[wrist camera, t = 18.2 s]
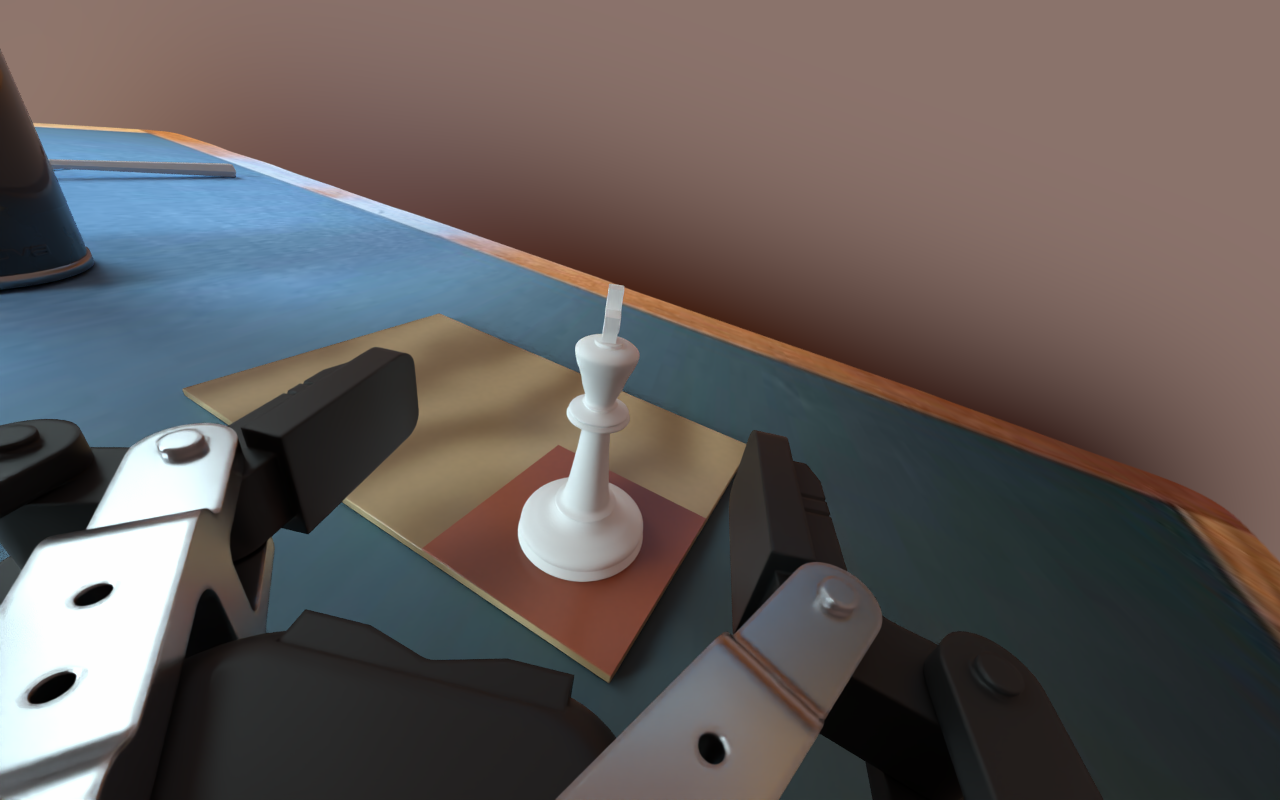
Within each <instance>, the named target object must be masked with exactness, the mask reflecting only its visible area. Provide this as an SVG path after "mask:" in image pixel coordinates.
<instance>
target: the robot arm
mask: <svg viewBox="0 0 1280 800" xmlns="http://www.w3.org/2000/svg"><path fill="white" fill-rule="evenodd" d="M93 264H94V259H93V257H92V254H91V252H90V250H89V249H88V248H87V247H86V246H85V244H84V241H83V239H82V237H81V234H80V232H79V230H78V227H77V225H76V223H75V221H74V218H73V216H72V214H71V211H70V209H69V207H68V204H67V201H66V199H65V196H64V194H63V192H62V190H61V187H60V185H59V183H58V180H57V178H56V176H55V174H54V171H53V169H52V167H51V164H50V162H49V160H48V157H47V155H46V153H45V151H44V148H43V146H42V144H41V141H40V139H39V137H38V134H37V132H36V130H35V128H34V125H33V123H32V121H31V118H30V116H29V114H28V111H27V109H26V107H25V105H24V102H23V100H22V98H21V95H20V93H19V91H18V88H17V86H16V84H15V82H14V79H13V77H12V75H11V72H10V70H9V68H8V66H7V63H6V61H5V59H4V56H3V54H2V52H1V49H0V289H9V288H18V287H24V286H31V285H38V284H42V283H47V282H52V281H57V280H61V279H64V278H68V277H71V276H74V275H77V274H79V273H82V272H84V271H86V270H88V269H89V268H91V267H92V266H93ZM418 416H419V406H418V395H417V385H416V374H415V364H414V360H413V358H412V356H411V355H410V354H408V353H403V352H399V351H394V350H390V349H385V348H380V347H373V348H370V349H369V350H367V351H365V352H364V353H362V354H360V355H359V356H357V357H356V358H354V359H352V360H351V361H349V362H346V363H343V364H340V365H337V366H334V367H330V368H327V369H324V370H322V371H320V372H318V373H317V374H315V375H313V376H312V377H310V378H308V379H307V380H305V381H304V383H303V384H298V385H296V386H295V387H293V388H291V389H289V390H288V392H287V394H286V393H283V394H281V395H279V396H278V397H276V398H274V399H272V400H271V401H269V402H267V403H266V404H264V405H262V406H261V407H259V408H257V409H255V410H254V411H252V412H250V413H249V414H247V415H245V416H244V417H242V418H240V419H238V420H237V421H235V422H233V423H232V424H230V425H228V426H225V425H221V424H214V423H197V424H188V425H182V426H177V427H173V428H169V429H165V430H162V431H160V432H157V433H154V434H152V435H150V436H147V437H146V438H144V439H142V440H140V441H139V442H137V443H136V444H134V445H133V446H132V447H131V448H121V447H89V445H88V443H87V441H86V439H85V437H84V436H83V434H82V432H81V430H80V428H79V427H78V426H77V425H76V424H74V423H72V422H69V421H65V420H58V419H37V420H27V421H21V422H14V423H10V424H5V425H1V426H0V543H1V544H2V546H3V547H4V548H5V550H6V551H7V552H8V554H9V555H10V557H8V558H6V559H5V560H3V561H2V562H0V800H779V798H780V796H781V795H782V793H783V791H784V790H785V788H786V787H787V785H788V783H789V782H790V780H791V778H792V777H793V775H794V774H795V772H796V770H797V769H798V767H799V765H800V764H801V762H802V760H803V759H804V757H805V756H806V754H807V752H808V751H809V749H810V747H811V746H812V744H813V742H814V741H815V739H816V738H817V736H818V734H819V733H820V734H821V735H823V736H825V737H826V738H828V739H830V740H831V741H833V742H835V743H836V744H838V745H840V746H841V747H843V748H845V749H846V750H848V751H849V752H851V753H853V754H854V755H856V756H858V757H859V758H861V759H863V760H864V761H866V767H867V772H868V777H869V783H870V788H871V793H872V798H873V800H1103V798H1102V796H1101V794H1100V792H1099V791H1098V789H1097V787H1096V785H1095V783H1094V781H1093V779H1092V778H1091V776H1090V774H1089V772H1088V770H1087V768H1086V767H1085V765H1084V763H1083V761H1082V759H1081V757H1080V755H1079V754H1078V752H1077V750H1076V748H1075V746H1074V744H1073V742H1072V741H1071V739H1070V737H1069V735H1068V733H1067V731H1066V730H1065V728H1064V726H1063V724H1062V722H1061V720H1060V718H1059V717H1058V715H1057V713H1056V711H1055V709H1054V707H1053V706H1052V704H1051V702H1050V700H1049V698H1048V696H1047V694H1046V693H1045V691H1044V689H1043V688H1042V686H1041V684H1040V683H1039V682H1038V680H1037V679H1036V678H1035V676H1034V675H1033V674H1032V673H1031V672H1030V671H1029V670H1028V668H1027V667H1026V666H1025V665H1024V664H1022V663H1021V662H1020V661H1019V660H1018V659H1017V658H1016V657H1015V656H1013V655H1012V654H1011V653H1010V652H1008V651H1007V650H1006V649H1004V648H1003V647H1001V646H1000V645H998V644H996V643H994V642H993V641H991V640H989V639H987V638H985V637H982V636H980V635H977V634H974V633H969V632H961V631H958V632H952V633H950V634H948V635H947V636H946V637H944V638H943V640H942V641H941V642H940V643H939V644H938V645H937V644H935V643H933V642H931V641H929V640H927V639H925V638H923V637H921V636H919V635H917V634H915V633H913V632H911V631H909V630H907V629H905V628H903V627H901V626H899V625H897V624H895V623H893V622H891V621H890V620H888V619H886V618H885V617H884V616H882V613H881V610H880V606H879V604H878V602H877V600H876V599H875V597H874V596H873V594H872V593H871V592H870V590H869V589H868V588H867V587H866V586H865V585H864V584H863V583H862V582H861V581H860V580H859V579H857V578H856V577H855V576H853V575H852V574H850V573H849V572H847V569H846V565H845V562H844V559H843V555H842V552H841V549H840V545H839V542H838V539H837V536H836V532H835V529H834V526H833V522H832V519H831V517H829V515H830V512H829V509H828V506H827V502H825V496H824V492H823V489H822V486H821V482H820V480H819V479H818V478H817V477H816V475H815V474H814V473H813V472H812V471H811V469H810V468H809V467H808V466H807V464H804V463H799V462H795V461H793V459H792V455H791V450H790V446H789V442H788V439H787V437H784V436H779V435H775V434H770V433H765V432H761V431H756V430H753V431H752V432H751V434H750V436H749V439H748V442H747V444H746V447H745V450H744V453H743V456H742V459H741V462H740V464H739V467H738V470H737V473H736V476H735V479H734V482H733V485H732V489H731V494H730V500H729V529H730V559H731V590H732V620H733V635H731V634H730V633H729V632H724V633H723V634H721V635H720V636H719V637H717V638H716V639H715V640H714V641H713V642H712V643H711V644H710V645H709V646H708V647H707V648H706V649H705V650H704V651H703V652H702V653H701V654H700V655H699V656H698V657H697V658H696V659H695V660H694V661H693V662H692V663H691V664H690V665H689V666H688V667H687V668H686V669H685V670H684V671H683V672H682V673H681V674H680V675H679V676H678V677H677V678H676V679H675V680H674V681H673V682H672V683H671V684H670V685H669V686H668V687H667V688H666V689H665V690H664V691H663V692H662V693H661V694H660V695H659V696H658V697H657V698H656V699H655V700H654V701H653V702H652V703H651V704H650V705H649V706H648V707H647V708H646V709H645V710H644V711H643V712H642V713H641V714H640V715H639V716H638V717H637V718H636V719H635V720H634V721H633V722H632V723H631V724H630V725H629V726H628V727H627V728H626V729H625V730H624V731H623V732H622V733H621V734H620V735H619V736H618V737H617V738H616V737H615V736H614V734H613V733H612V732H611V730H610V729H609V728H608V727H607V726H606V725H605V724H604V723H603V722H602V721H601V720H600V719H599V718H598V717H597V716H596V715H595V714H594V713H593V712H591V711H590V710H589V709H588V708H586V707H585V706H584V705H582V704H581V703H579V702H577V701H576V700H574V699H572V698H571V692H572V686H573V680H574V675H572V674H568V673H564V672H560V671H555V670H551V669H547V668H543V667H539V666H535V665H531V664H527V663H523V662H519V661H515V660H511V659H467V660H430V659H426V658H424V657H422V656H420V655H418V654H417V653H415V652H413V651H412V650H410V649H409V648H407V647H405V646H404V645H402V644H400V643H399V642H397V641H395V640H394V639H392V638H391V637H389V636H387V635H386V634H384V633H382V632H381V631H379V630H377V629H376V628H374V627H372V626H371V625H368V624H363V623H359V622H355V621H351V620H347V619H343V618H339V617H335V616H331V615H327V614H323V613H318V612H314V611H310V610H306V609H305V611H304V612H303V613H302V614H301V615H300V616H299V617H298V619H297V620H296V621H295V622H294V623H293V624H292V625H291V627H290V628H289V629H288V630H287V631H281V632H273V633H266V622H267V613H268V604H269V595H270V586H271V577H272V568H273V559H274V550H275V547H274V542H273V539H272V536H273V535H274V534H275V533H276V532H277V531H278V530H279V529H281V528H284V529H288V530H292V531H297V532H301V533H305V534H309V533H310V532H311V531H312V530H313V529H314V528H315V527H316V526H317V525H318V524H319V523H320V522H321V521H323V520H324V519H325V518H326V517H327V516H328V515H329V514H330V513H331V512H332V511H333V510H334V509H335V508H336V507H337V506H338V505H339V504H340V503H341V502H342V501H343V500H344V499H345V498H346V497H347V496H348V495H349V494H350V493H351V492H352V491H353V490H355V489H356V488H357V487H358V486H359V485H360V484H361V483H362V482H363V481H364V480H365V479H366V478H367V477H368V476H369V475H370V474H371V473H372V472H373V471H374V470H375V469H376V468H377V467H378V466H379V465H380V464H381V463H382V462H383V461H384V460H385V459H386V458H388V457H389V456H390V455H391V454H392V453H393V452H394V451H395V450H396V449H397V448H398V447H399V446H400V445H401V444H402V443H403V442H404V441H405V440H406V439H407V438H408V437H409V436H410V435H411V434H412V432H413V431H414V429H415V427H416V424H417V421H418Z"/></svg>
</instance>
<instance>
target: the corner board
mask: <svg viewBox="0 0 1280 800" xmlns="http://www.w3.org/2000/svg"><path fill="white" fill-rule="evenodd" d="M373 347H380V348H385V349H390V350H394V351H399V352H403V353H408V354H410V355H411V356H412V358H413V360H414V364H415V374H416V385H417V395H418V406H419V416H418V421H417V424H416V427H415V429H414V431H413V432H412V434H411V435H410V436H409V437H408V438H407V439H406V440H405V441H404V442H403V443H402V444H401V445H400V446H399V447H398V448H397V449H396V450H395V451H394V452H393V453H392V454H391V455H390V456H389V457H388V458H386V459H385V460H384V461H383V462H382V463H381V464H380V465H379V466H378V467H377V468H376V469H375V470H374V471H373V472H372V473H371V474H370V475H369V476H368V477H367V478H366V479H365V480H364V481H363V482H362V483H361V484H360V485H359V486H358V487H357V488H356V489H355V490H353V491H352V492H351V493H350V494H349V495H348V496H347V497H346V498H345V499H344V500H343V501H342V502H343V503H344V504H346V505H347V506H349V507H350V508H351V509H353V510H354V511H356V512H357V513H359V514H360V515H362V516H363V517H365V518H366V519H368V520H369V521H371V522H372V523H374V524H375V525H377V526H378V527H379V528H381V529H382V530H384V531H385V532H387V533H388V534H390V535H391V536H393V537H394V538H396V539H397V540H399V541H400V542H402V543H403V544H404V545H406V546H407V547H409V548H410V549H412V550H413V551H415V552H416V553H418V554H419V555H421V556H422V557H424V558H425V559H427V560H428V561H430V562H431V563H432V564H434V565H435V566H437V567H438V568H440V569H441V570H443V571H444V572H446V573H447V574H449V575H450V576H452V577H453V578H455V579H456V580H457V581H459V582H460V583H462V584H463V585H465V586H466V587H468V588H469V589H471V590H472V591H474V592H475V593H477V594H478V595H480V596H481V597H483V598H484V599H485V600H487V601H488V602H490V603H491V604H493V605H494V606H496V607H497V608H499V609H500V610H502V611H503V612H505V613H506V614H508V615H509V616H511V617H512V618H513V619H515V620H516V621H518V622H519V623H521V624H522V625H524V626H525V627H527V628H528V629H530V630H531V631H533V632H534V633H536V634H537V635H538V636H540V637H541V638H543V639H544V640H546V641H547V642H549V643H550V644H552V645H553V646H555V647H556V648H558V649H559V650H561V651H562V652H564V653H565V654H566V655H568V656H569V657H571V658H572V659H574V660H575V661H577V662H578V663H580V664H581V665H583V666H584V667H586V668H587V669H589V670H590V671H592V672H593V673H594V674H596V675H597V676H599V677H600V678H602V679H603V680H605V681H606V682H608V683H610V682H611V680H612V678H613V677H614V675H615V673H616V672H617V670H618V668H619V667H620V665H621V663H622V662H623V660H624V658H625V657H626V655H627V653H628V652H629V650H630V648H631V647H632V645H633V643H634V642H635V640H636V638H637V637H638V635H639V633H640V632H641V630H642V628H643V627H644V625H645V623H646V622H647V620H648V618H649V617H650V615H651V613H652V612H653V610H654V608H655V607H656V605H657V603H658V602H659V600H660V598H661V597H662V595H663V593H664V592H665V590H666V588H667V587H668V585H669V583H670V582H671V580H672V578H673V577H674V575H675V573H676V572H677V570H678V568H679V567H680V565H681V563H682V562H683V560H684V558H685V557H686V555H687V553H688V552H689V550H690V548H691V547H692V545H693V543H694V542H695V540H696V538H697V537H698V535H699V533H700V532H701V530H702V528H703V527H704V525H705V523H706V522H707V520H708V518H709V517H710V515H711V513H712V512H713V510H714V508H715V507H716V505H717V503H718V502H719V500H720V498H721V497H722V495H723V493H724V492H725V490H726V488H727V487H728V485H729V483H730V482H731V480H732V478H733V477H734V475H735V473H736V472H737V470H738V467H739V464H740V462H741V459H742V456H743V453H744V450H745V447H746V444H744V443H742V442H740V441H737V440H735V439H733V438H730V437H728V436H726V435H723V434H721V433H719V432H716V431H714V430H711V429H709V428H707V427H704V426H702V425H700V424H697V423H695V422H693V421H690V420H688V419H686V418H683V417H681V416H679V415H676V414H674V413H672V412H669V411H667V410H665V409H662V408H660V407H657V406H655V405H653V404H650V403H648V402H646V401H643V400H641V399H639V398H636V397H634V396H632V395H629V394H627V393H625V392H622V391H621V393H620V394H619V396H618V398H617V399H619V400H620V401H622V402H623V403H624V404H625V405H626V406H627V408H628V410H629V416H630V421H629V423H628V425H627V426H626V427H625V428H624V429H622V430H620V431H618V432H615V433H610V445H609V483H611V484H613V485H615V486H617V487H619V488H620V489H622V490H623V491H625V492H626V493H627V494H628V495H629V496H630V497H631V498H632V499H633V500H634V501H635V503H636V504H637V506H638V508H639V510H640V512H641V515H642V519H643V541H642V546H641V549H640V551H639V553H638V555H637V557H636V558H635V560H634V561H633V562H632V563H631V564H630V565H629V566H628V567H627V568H625V569H624V570H623V571H621V572H619V573H618V574H616V575H614V576H611V577H609V578H606V579H602V580H598V581H590V582H576V581H568V580H564V579H560V578H557V577H554V576H552V575H550V574H548V573H546V572H544V571H542V570H541V569H539V568H538V567H537V566H535V565H534V564H533V563H532V562H531V561H530V560H529V559H528V558H527V556H526V555H525V553H524V552H523V550H522V548H521V546H520V543H519V538H518V525H519V521H520V518H521V513H522V509H523V507H524V505H525V503H526V501H527V500H528V498H529V497H530V496H531V495H532V494H533V493H534V492H535V491H536V490H538V489H539V488H540V487H542V486H544V485H545V484H547V483H550V482H552V481H555V480H558V479H562V478H567V477H569V475H570V472H571V468H572V465H573V461H574V458H575V454H576V450H577V447H578V443H579V438H580V434H581V430H582V429H580V428H578V427H576V426H575V425H573V424H572V423H571V422H570V420H569V419H568V417H567V408H568V406H569V404H570V402H571V401H572V400H573V399H574V398H575V397H577V396H579V395H582V394H585V391H584V388H583V384H582V377H581V374H580V373H578V372H575V371H573V370H571V369H568V368H566V367H564V366H561V365H559V364H557V363H554V362H552V361H550V360H547V359H545V358H543V357H540V356H538V355H535V354H533V353H531V352H528V351H526V350H524V349H521V348H519V347H517V346H514V345H512V344H510V343H507V342H505V341H503V340H500V339H498V338H496V337H493V336H491V335H489V334H486V333H484V332H481V331H479V330H477V329H474V328H472V327H470V326H467V325H465V324H463V323H460V322H458V321H456V320H453V319H451V318H449V317H446V316H444V315H442V314H436V315H433V316H429V317H426V318H423V319H419V320H416V321H412V322H409V323H405V324H402V325H399V326H395V327H392V328H388V329H385V330H382V331H378V332H375V333H371V334H368V335H364V336H361V337H358V338H354V339H351V340H347V341H344V342H340V343H337V344H334V345H330V346H327V347H323V348H320V349H317V350H313V351H310V352H306V353H303V354H299V355H296V356H293V357H289V358H286V359H282V360H279V361H275V362H272V363H269V364H265V365H262V366H258V367H255V368H252V369H248V370H245V371H241V372H238V373H234V374H231V375H228V376H224V377H221V378H217V379H214V380H210V381H207V382H204V383H200V384H197V385H193V386H190V387H187V388H183V392H184V395H185V396H187V397H188V398H189V399H191V400H192V401H194V402H195V403H197V404H198V405H200V406H201V407H203V408H204V409H206V410H207V411H209V412H210V413H212V414H213V415H215V416H216V417H217V418H219V419H220V420H222V421H223V422H225V423H226V424H228V425H230V424H232V423H233V422H235V421H237V420H238V419H240V418H242V417H244V416H245V415H247V414H249V413H250V412H252V411H254V410H255V409H257V408H259V407H261V406H262V405H264V404H266V403H267V402H269V401H271V400H272V399H274V398H276V397H278V396H279V395H281V394H283V393H286V394H287V392H288V390H289V389H291V388H293V387H295V386H296V385H298V384H303V383H304V381H305V380H307V379H308V378H310V377H312V376H313V375H315V374H317V373H318V372H320V371H322V370H324V369H327V368H330V367H334V366H337V365H340V364H343V363H346V362H349V361H351V360H352V359H354V358H356V357H357V356H359V355H360V354H362V353H364V352H365V351H367V350H369V349H370V348H373Z"/></svg>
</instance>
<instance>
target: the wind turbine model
mask: <svg viewBox="0 0 1280 800" xmlns="http://www.w3.org/2000/svg"><path fill="white" fill-rule="evenodd" d="M48 160H49V162H50V164H51V167H52V169H79V170H100V171H120V172H141V173H162V174H182V175H203V176H223V177H236V171H235V169H234V166H233V165H231V164H217V163H176V162H135V161H94V160H52V159H48Z"/></svg>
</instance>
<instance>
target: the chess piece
mask: <svg viewBox="0 0 1280 800" xmlns="http://www.w3.org/2000/svg"><path fill="white" fill-rule="evenodd" d="M623 295H624V286H622V285H615V284H609V290H608V297H607V302H606V310H605V320H604V327H603V334H595V335H589V336H586V337H584V338H582V339H581V340H579V341H578V342H577V344H576V347H575V354H576V359H577V363H578V366H579V369H580V373H581V377H582V384H583V388H584V391H585V394H582V395H579V396H577V397H575V398H574V399H573V400H572V401H571V402H570V404H569V406H568V408H567V417H568V419H569V420H570V422H571V423H572V424H573V425H575V426H576V427H578V428H580V429H582V430H581V434H580V438H579V443H578V447H577V450H576V454H575V458H574V461H573V465H572V468H571V472H570V475H569V477H567V478H562V479H558V480H555V481H552V482H550V483H547V484H545V485H544V486H542V487H540V488H539V489H538V490H536V491H535V492H534V493H533V494H532V495H531V496H530V497H529V498H528V500H527V501H526V503H525V505H524V507H523V509H522V513H521V518H520V521H519V525H518V538H519V543H520V546H521V548H522V550H523V552H524V553H525V555H526V556H527V558H528V559H529V560H530V561H531V562H532V563H533V564H534V565H535V566H537V567H538V568H539V569H541V570H542V571H544V572H546V573H548V574H550V575H552V576H554V577H557V578H560V579H564V580H568V581H576V582H590V581H598V580H602V579H606V578H609V577H611V576H614V575H616V574H618V573H619V572H621V571H623V570H624V569H625V568H627V567H628V566H629V565H630V564H631V563H632V562H633V561H634V560H635V558H636V557H637V555H638V553H639V551H640V549H641V546H642V541H643V519H642V515H641V512H640V510H639V508H638V506H637V504H636V503H635V501H634V500H633V499H632V498H631V497H630V496H629V495H628V494H627V493H626V492H625V491H623V490H622V489H620V488H619V487H617V486H615V485H613V484H611V483H609V445H610V433H615V432H618V431H620V430H622V429H624V428H625V427H626V426H627V425H628V423H629V421H630V416H629V410H628V408H627V406H626V405H625V404H624V403H623V402H622V401H620V400H619V399H617V398H618V396H619V394H620V393H621V391H622V390H623V388H624V385H625V383H626V381H627V379H628V378H629V376H630V375H631V373H632V372H633V370H634V368H635V367H636V365H637V363H638V360H639V352H638V350H637V348H636V347H635V346H634V345H633V344H632V343H631V342H629V341H627V340H625V339H623V338H621V337H618V336H617V334H618V333H619V328H620V322H621V308H622V301H623Z"/></svg>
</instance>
